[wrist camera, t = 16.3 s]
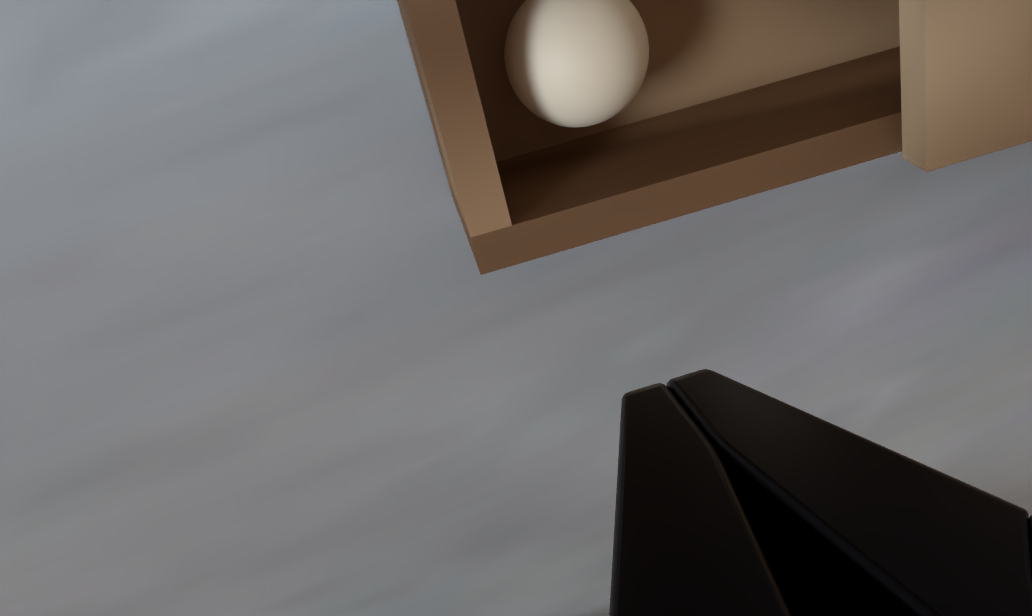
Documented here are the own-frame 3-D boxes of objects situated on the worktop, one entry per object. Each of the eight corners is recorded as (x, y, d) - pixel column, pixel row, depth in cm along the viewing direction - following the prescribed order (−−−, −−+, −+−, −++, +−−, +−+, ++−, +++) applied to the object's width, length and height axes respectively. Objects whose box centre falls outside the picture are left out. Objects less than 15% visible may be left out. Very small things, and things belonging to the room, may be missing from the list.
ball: (635, 85, 20) (678, 122, 18) (509, 121, 20) (537, 163, 18) (612, -49, 19) (657, -29, 17) (478, -12, 19) (503, 14, 16)
